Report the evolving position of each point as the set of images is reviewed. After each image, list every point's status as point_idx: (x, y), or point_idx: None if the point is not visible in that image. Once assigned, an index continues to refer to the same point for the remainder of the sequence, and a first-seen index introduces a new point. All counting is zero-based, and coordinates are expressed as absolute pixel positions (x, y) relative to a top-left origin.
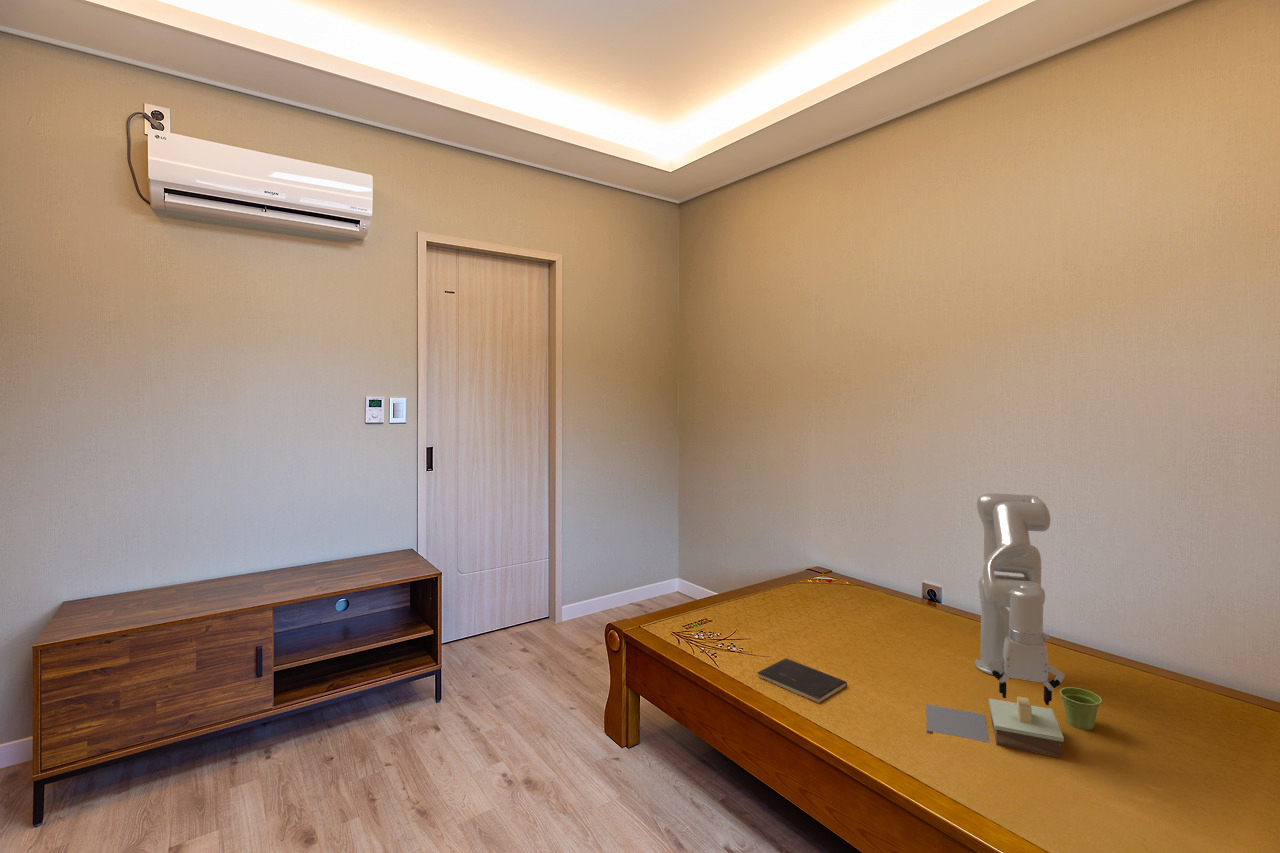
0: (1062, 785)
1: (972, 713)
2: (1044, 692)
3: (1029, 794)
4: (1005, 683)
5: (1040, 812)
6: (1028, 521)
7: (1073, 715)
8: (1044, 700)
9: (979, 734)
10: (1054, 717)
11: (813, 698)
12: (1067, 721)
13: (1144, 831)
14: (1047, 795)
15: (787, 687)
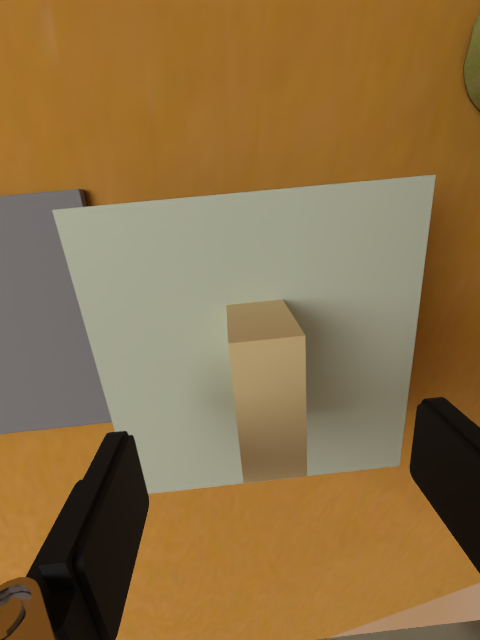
0: (326, 510)
1: (25, 209)
2: (469, 488)
3: (246, 570)
4: (102, 634)
5: (263, 607)
6: None
7: None
8: (420, 438)
9: (94, 385)
10: (416, 291)
11: None
12: (473, 69)
13: (449, 574)
14: (284, 557)
15: None
